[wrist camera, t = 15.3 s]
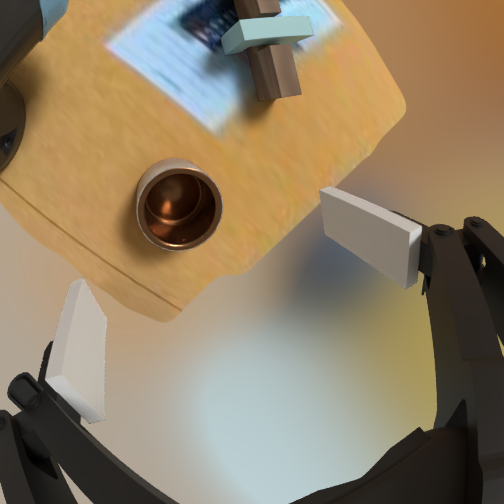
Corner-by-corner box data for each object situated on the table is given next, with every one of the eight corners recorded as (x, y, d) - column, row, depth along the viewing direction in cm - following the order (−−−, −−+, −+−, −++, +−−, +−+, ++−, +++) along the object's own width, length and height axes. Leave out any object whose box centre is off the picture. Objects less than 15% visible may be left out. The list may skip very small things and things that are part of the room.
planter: (202, 229, 47) (217, 253, 39) (134, 226, 43) (133, 251, 35) (212, 161, 43) (230, 170, 35) (140, 154, 39) (140, 161, 31)
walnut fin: (259, 101, 41) (282, 97, 35) (230, -10, 32) (248, -30, 25) (276, 97, 42) (301, 94, 35) (248, -11, 32) (268, -30, 26)
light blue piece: (224, 55, 37) (244, 40, 29) (220, 38, 35) (239, 19, 27) (284, 47, 39) (314, 34, 31) (280, 31, 37) (309, 16, 30)
